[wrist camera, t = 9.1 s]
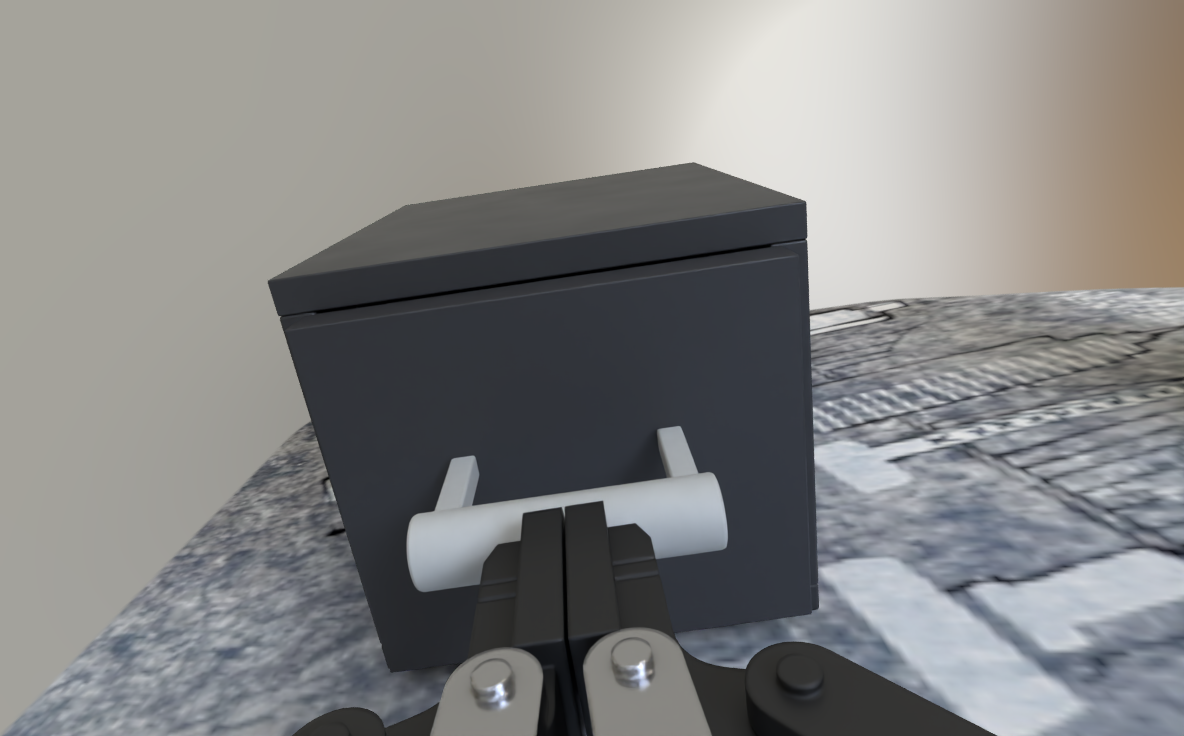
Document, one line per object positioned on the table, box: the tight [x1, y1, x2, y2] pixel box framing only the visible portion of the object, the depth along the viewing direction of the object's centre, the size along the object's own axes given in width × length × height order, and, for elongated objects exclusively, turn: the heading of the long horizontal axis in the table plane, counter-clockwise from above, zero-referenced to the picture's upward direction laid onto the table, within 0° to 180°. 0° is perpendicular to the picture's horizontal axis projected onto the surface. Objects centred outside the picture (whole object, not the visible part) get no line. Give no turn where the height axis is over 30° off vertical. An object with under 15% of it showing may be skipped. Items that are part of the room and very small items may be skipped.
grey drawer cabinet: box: [268, 163, 819, 669], centre depth 25 cm, size 15×13×12 cm
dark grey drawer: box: [285, 246, 812, 672], centre depth 21 cm, size 18×12×10 cm, turn 2°
